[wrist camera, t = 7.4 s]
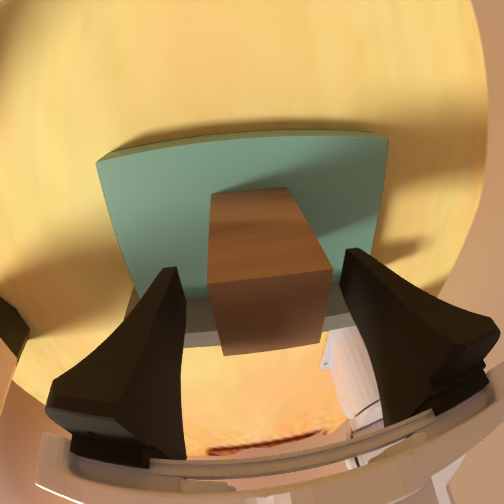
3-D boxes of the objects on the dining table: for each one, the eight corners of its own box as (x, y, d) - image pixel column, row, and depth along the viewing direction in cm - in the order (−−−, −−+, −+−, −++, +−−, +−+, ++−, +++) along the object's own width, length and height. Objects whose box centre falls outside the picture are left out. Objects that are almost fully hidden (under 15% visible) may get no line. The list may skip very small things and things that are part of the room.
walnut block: (286, 249, 16) (319, 342, 11) (219, 256, 16) (223, 355, 11) (286, 187, 14) (333, 268, 8) (211, 194, 14) (206, 283, 8)
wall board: (361, 274, 21) (387, 318, 17) (140, 298, 20) (128, 349, 16) (384, 133, 15) (434, 156, 11) (94, 156, 14) (53, 187, 9)
